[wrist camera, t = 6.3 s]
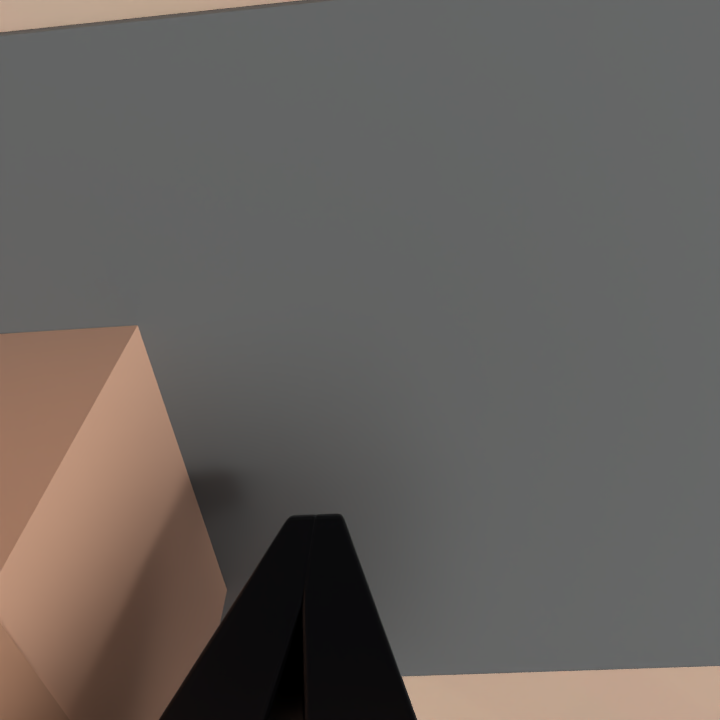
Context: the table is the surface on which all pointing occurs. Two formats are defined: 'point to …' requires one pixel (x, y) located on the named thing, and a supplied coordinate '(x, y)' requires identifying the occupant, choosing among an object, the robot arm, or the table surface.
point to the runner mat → (409, 296)
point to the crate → (95, 533)
